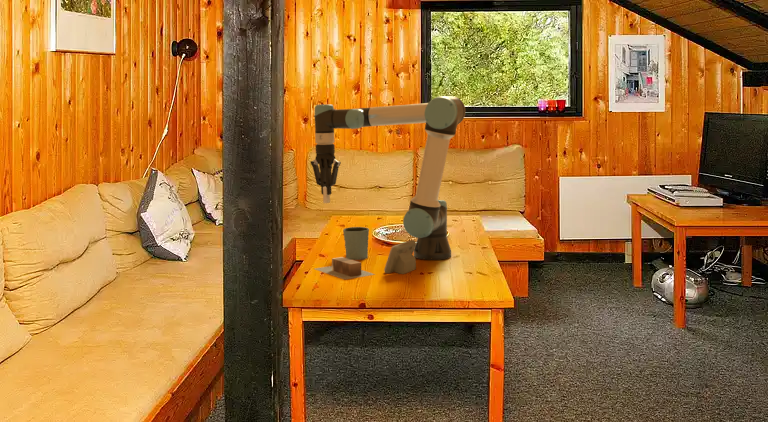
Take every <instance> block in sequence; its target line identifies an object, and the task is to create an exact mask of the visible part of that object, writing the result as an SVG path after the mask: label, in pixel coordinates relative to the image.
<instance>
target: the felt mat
mask: <svg viewBox="0 0 768 422" xmlns="http://www.w3.org/2000/svg"><path fill="white" fill-rule="evenodd" d="M314 270H316V271H319V272H321V273H324V274H328V275H330V276H333V277H336V278H339V279H342V280H349V279H357V278H363V277H368V276H373V275H375V276H376V274H375V273H372V272H369V271H366V270H362V269H361V275H358V276H352V277H351V276H348V275H345V274H342V273H339V272H336V271H333V270H332V265H331V266H330V265H329V266H322V267H317V268H314Z"/></svg>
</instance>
